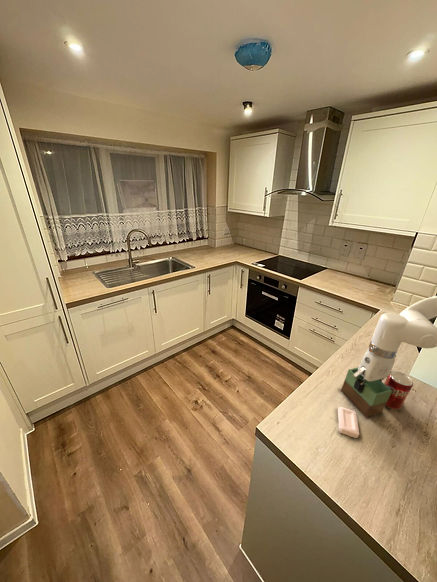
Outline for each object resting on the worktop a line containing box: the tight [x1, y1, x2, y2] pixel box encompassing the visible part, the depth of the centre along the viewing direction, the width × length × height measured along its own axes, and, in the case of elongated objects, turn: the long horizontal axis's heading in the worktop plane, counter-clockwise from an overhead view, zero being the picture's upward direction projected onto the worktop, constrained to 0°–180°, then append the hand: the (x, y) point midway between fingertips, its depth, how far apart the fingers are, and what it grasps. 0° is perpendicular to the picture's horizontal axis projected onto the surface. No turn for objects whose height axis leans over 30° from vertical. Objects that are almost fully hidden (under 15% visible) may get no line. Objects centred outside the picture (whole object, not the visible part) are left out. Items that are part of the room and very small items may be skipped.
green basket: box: [344, 366, 392, 407], centre depth 84 cm, size 12×7×6 cm, turn 17°
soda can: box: [383, 370, 414, 410], centre depth 85 cm, size 7×7×12 cm
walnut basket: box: [340, 380, 387, 419], centre depth 86 cm, size 12×7×6 cm, turn 17°
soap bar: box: [337, 406, 360, 439], centre depth 79 cm, size 5×9×2 cm, turn 159°
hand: (366, 387), depth 85 cm, fingers closed on green basket, 7 cm apart
